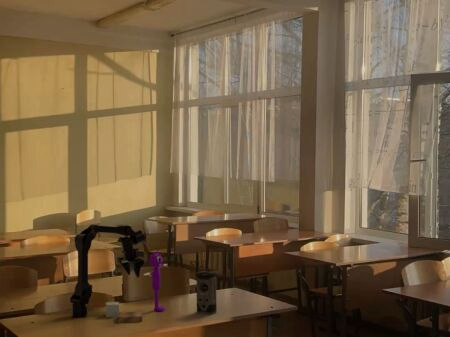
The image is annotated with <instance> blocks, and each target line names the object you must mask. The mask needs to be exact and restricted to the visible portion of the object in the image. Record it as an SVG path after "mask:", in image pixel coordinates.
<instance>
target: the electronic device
mask: <svg viewBox="0 0 450 337" xmlns="http://www.w3.org/2000/svg"><path fill="white" fill-rule="evenodd" d="M195 277H196V313H197V314H204V315H214V314H216V313H217V312H218V310H217V309H218V308H217V272H215V271H207V270H206V271H205V270H201V271H200V270H199V271H197V272H196V276H195Z"/></svg>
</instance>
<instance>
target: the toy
mask: <svg viewBox="0 0 450 337" xmlns="http://www.w3.org/2000/svg"><path fill="white" fill-rule="evenodd" d="M149 265H150V266H151V267H152V268H153V270H151V271H149V272H146V273H144V274H143V276H149V277H151V276H152V277H151V278H152V280H151V287H152V289H153V290H154V308H153V311H154V312H164V311H165V310H166V308H165V307H164V306H159V290H160V289H161V285H162V284H161V271H160V269H161V268H163V267H164V268H165V267H166V268H168V263H165V261H164V260H163V257H162V254H159V250H156V252H155V251H153V252H152V255H151V256H150V257H149ZM151 274H152V275H151Z"/></svg>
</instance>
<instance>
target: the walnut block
mask: <svg viewBox="0 0 450 337" xmlns="http://www.w3.org/2000/svg"><path fill="white" fill-rule="evenodd" d="M117 318H118V324H120V323H139V322H140V323H142V322H143V311H141V310H140V311H139V310H138V311H119V316H118V317H117Z"/></svg>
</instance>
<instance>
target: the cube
mask: <svg viewBox="0 0 450 337" xmlns="http://www.w3.org/2000/svg"><path fill="white" fill-rule="evenodd" d="M105 310H106V311H105V316H106V318H118V316H119V312H120V301H107V302H106V303H105Z"/></svg>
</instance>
